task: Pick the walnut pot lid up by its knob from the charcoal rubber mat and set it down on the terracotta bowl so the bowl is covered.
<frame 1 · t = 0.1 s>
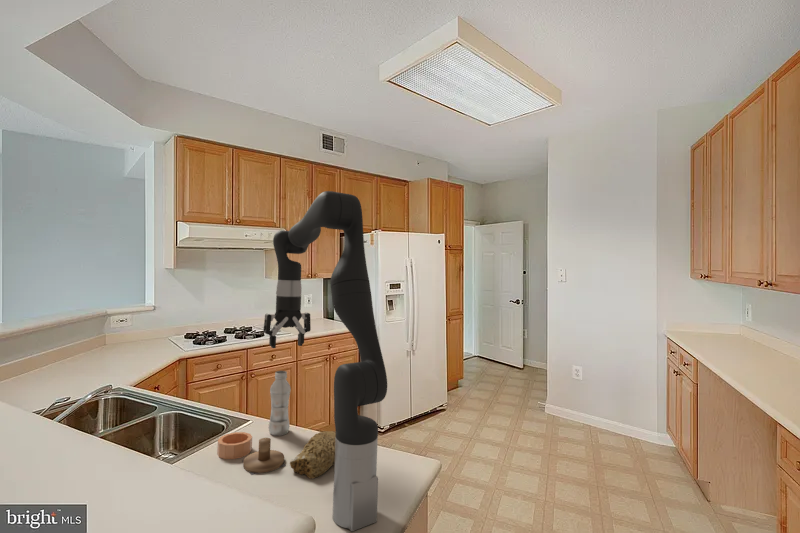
hand: (287, 346, 122), 29 cm above the table, tool pointing down, fingers open, 8 cm apart
bowl: (234, 454, 112), on the table
plastic bottle: (278, 435, 126), on the table
mat: (263, 466, 106), on the table
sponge: (320, 463, 109), on the table
lid: (263, 463, 106), point 1 cm above the table, touching mat
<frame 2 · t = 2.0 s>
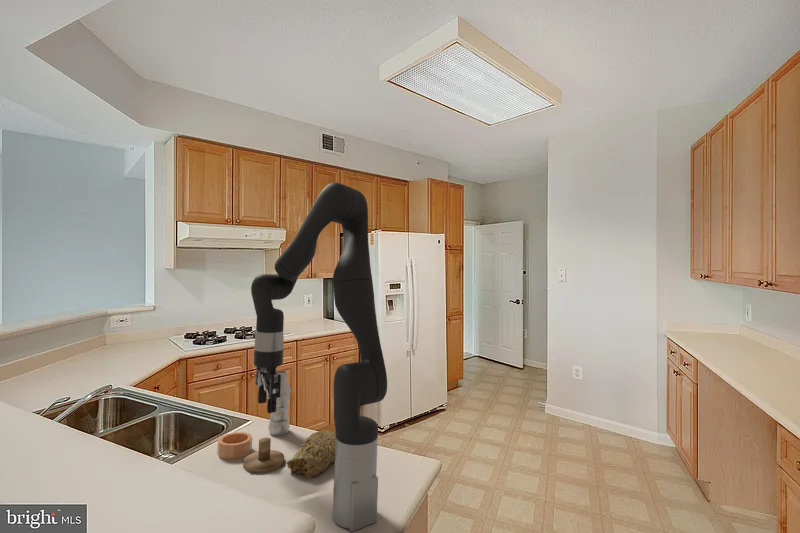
hand: (266, 407, 106), 16 cm above the table, tool pointing down, fingers open, 8 cm apart
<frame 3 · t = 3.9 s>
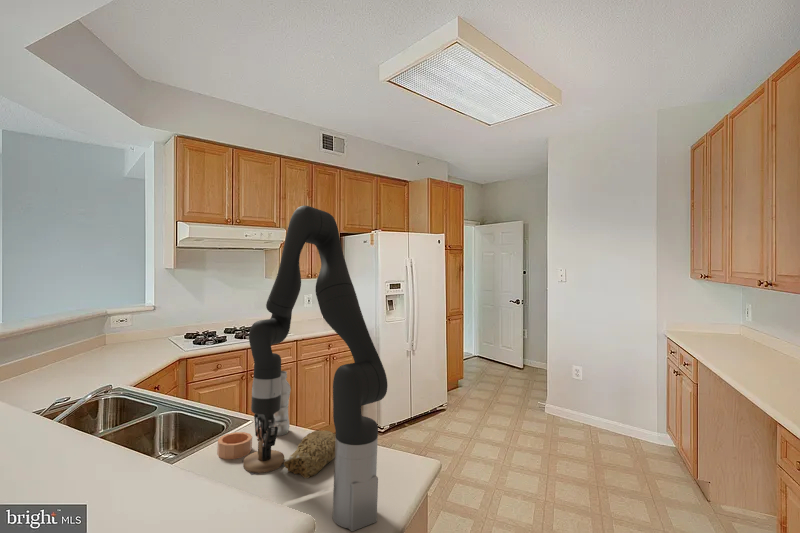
hand: (264, 456, 106), 2 cm above the table, tool pointing down, fingers closed on lid, 3 cm apart
lid: (264, 463, 106), point 1 cm above the table, touching gripper, mat
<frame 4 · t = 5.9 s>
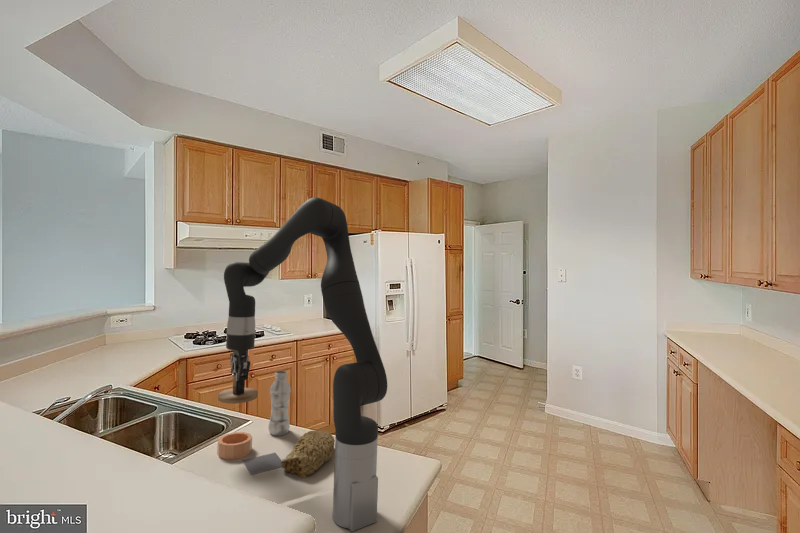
hand: (238, 391, 112), 18 cm above the table, tool pointing down, fingers closed on lid, 3 cm apart
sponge: (310, 462, 109), on the table
lid: (238, 397, 112), point 16 cm above the table, touching gripper
everything else where it was.
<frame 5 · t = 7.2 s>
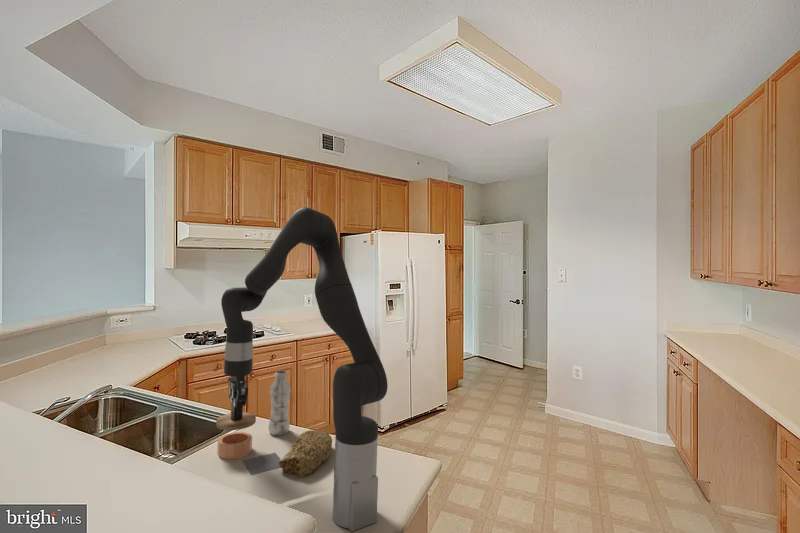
hand: (236, 417, 112), 11 cm above the table, tool pointing down, fingers closed on lid, 3 cm apart
lid: (236, 422, 112), point 9 cm above the table, touching gripper
when the fingers open (7 cm above the table, at t = 8.1 s): lid stays where it is, resting on bowl.
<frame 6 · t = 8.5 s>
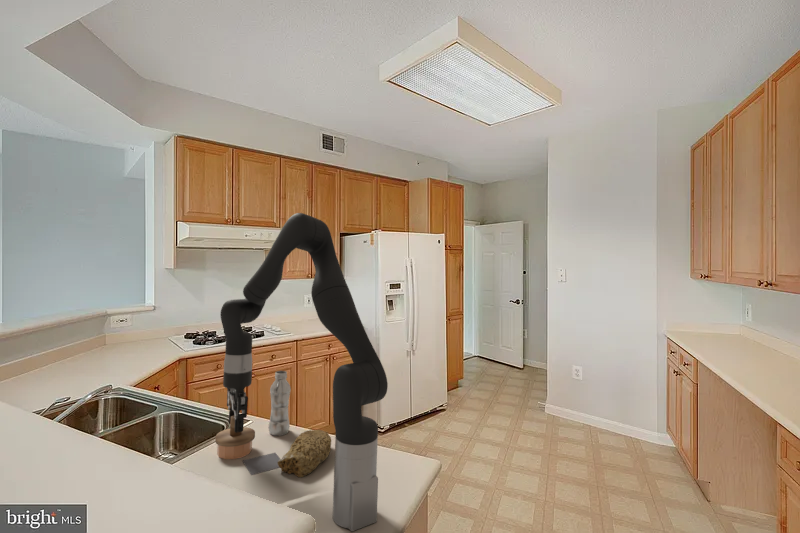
hand: (235, 427, 112), 8 cm above the table, tool pointing down, fingers open, 6 cm apart
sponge: (307, 462, 109), on the table, touching mat
lid: (235, 438, 112), point 4 cm above the table, touching bowl
everything else where it was.
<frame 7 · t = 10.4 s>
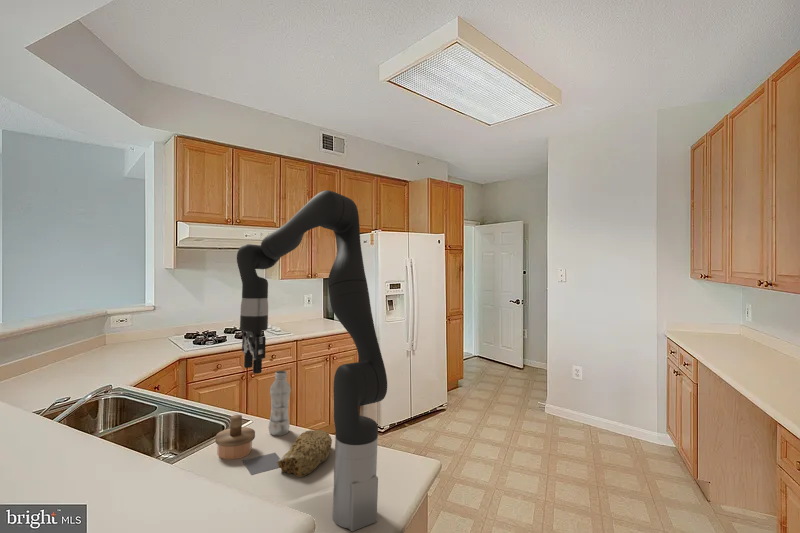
hand: (252, 370, 112), 24 cm above the table, tool pointing down, fingers open, 8 cm apart
nothing on the table moved.
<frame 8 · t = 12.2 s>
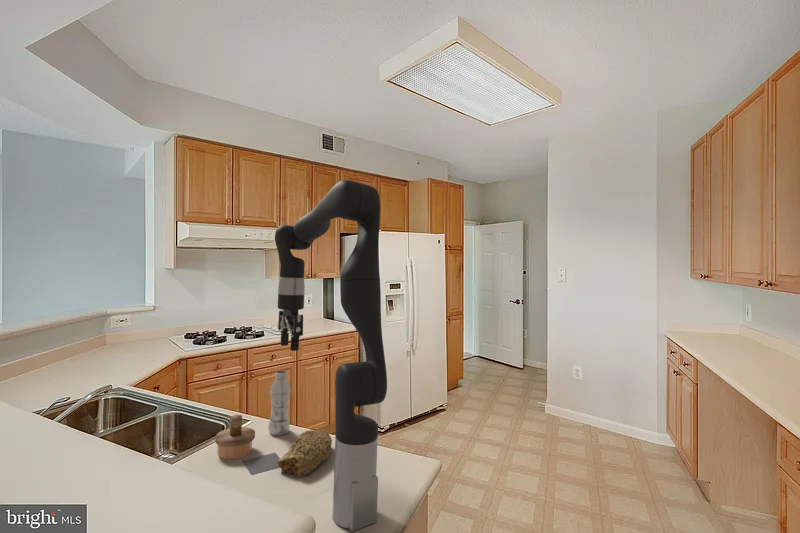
hand: (289, 347, 116), 30 cm above the table, tool pointing down, fingers open, 8 cm apart
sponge: (307, 462, 109), on the table
everything else where it was.
at the end: lid 0.1 cm off-centre on the bowl, point 4.5 cm above the bowl's base; lid tilted 0°; the gripper is holding nothing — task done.
